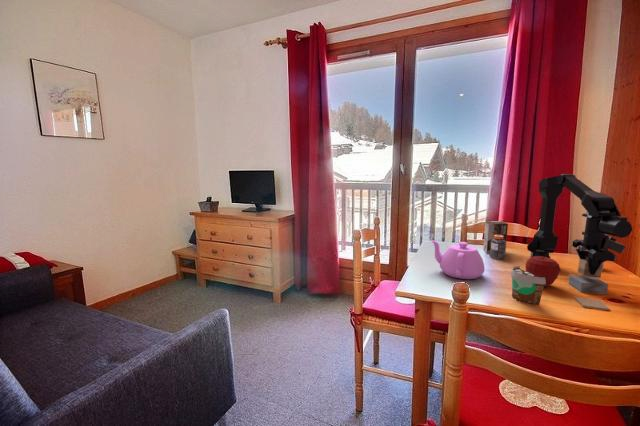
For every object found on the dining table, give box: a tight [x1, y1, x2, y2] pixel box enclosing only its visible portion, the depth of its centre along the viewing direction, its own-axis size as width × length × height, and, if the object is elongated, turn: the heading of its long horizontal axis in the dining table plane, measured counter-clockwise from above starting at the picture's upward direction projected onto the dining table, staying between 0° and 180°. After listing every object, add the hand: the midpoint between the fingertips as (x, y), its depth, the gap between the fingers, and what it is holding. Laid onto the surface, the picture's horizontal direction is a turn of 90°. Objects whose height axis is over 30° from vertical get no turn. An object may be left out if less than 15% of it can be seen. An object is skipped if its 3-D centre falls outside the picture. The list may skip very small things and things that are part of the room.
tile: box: [573, 296, 611, 311], centre depth 101 cm, size 7×7×1 cm
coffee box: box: [482, 220, 509, 255], centre depth 158 cm, size 9×6×16 cm
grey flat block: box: [567, 274, 609, 295], centre depth 113 cm, size 8×8×4 cm
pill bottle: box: [489, 235, 505, 260], centre depth 149 cm, size 6×6×11 cm
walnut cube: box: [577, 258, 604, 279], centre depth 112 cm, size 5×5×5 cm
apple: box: [525, 256, 561, 288], centre depth 116 cm, size 11×11×12 cm
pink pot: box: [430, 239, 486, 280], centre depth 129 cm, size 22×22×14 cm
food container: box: [509, 265, 546, 306], centre depth 104 cm, size 12×6×10 cm, turn 5°
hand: (589, 271), depth 112 cm, fingers closed on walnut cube, 5 cm apart
